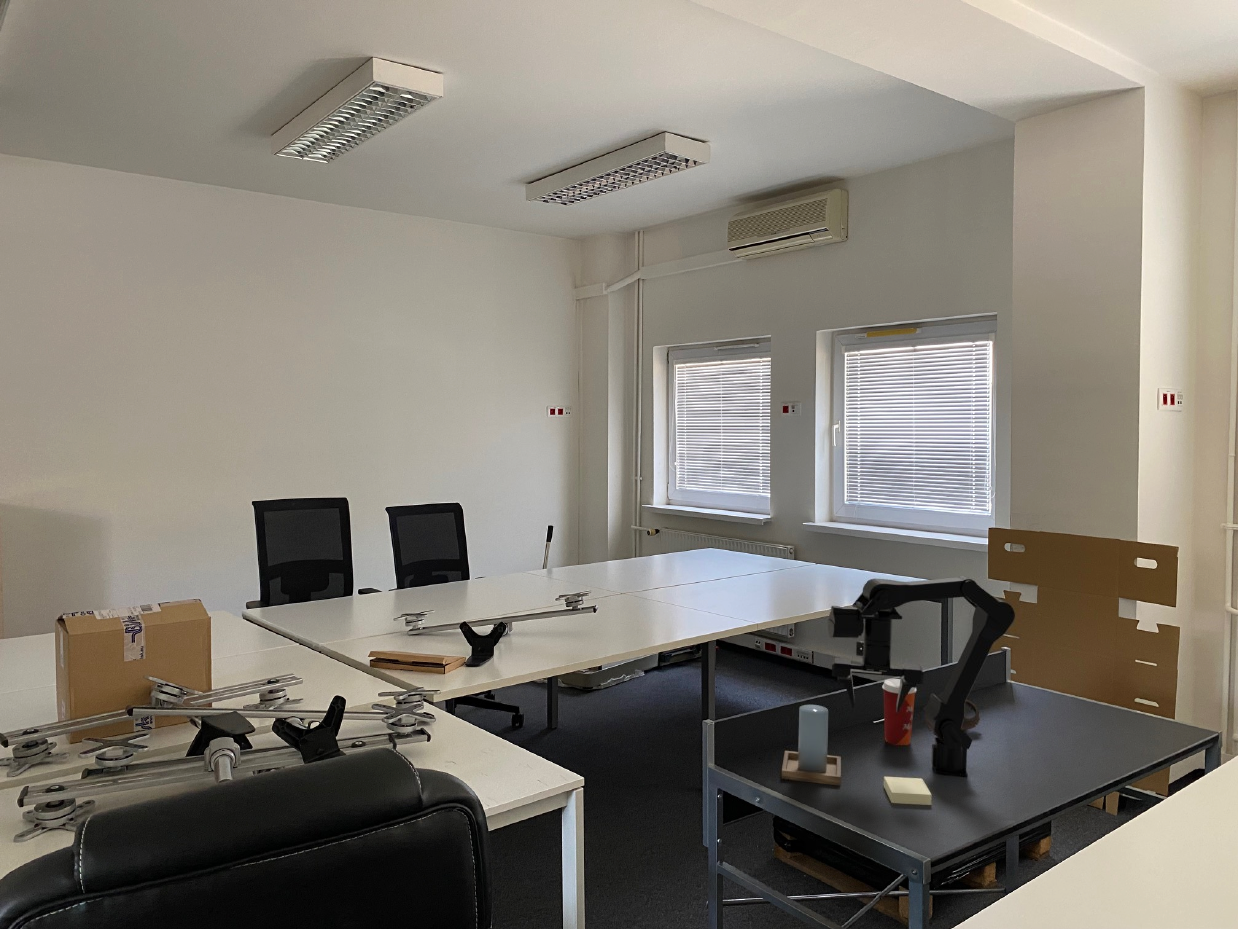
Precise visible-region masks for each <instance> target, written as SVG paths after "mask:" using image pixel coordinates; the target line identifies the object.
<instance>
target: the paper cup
mask: <svg viewBox="0 0 1238 929" xmlns="http://www.w3.org/2000/svg"><path fill="white" fill-rule="evenodd" d="M899 687H900V678H889V679H884V682H883V684H882V686H881V688H882V689H883V712H884V713H883V717H884V718H883V720H884V738H885V742H886V743H887V742H888V744H890V745H892V746H897V745H901V746H900V747H903V746H902V745H906V746H909V745H910V744H911V737H912V736H911V735H912V727H913V717H914V706H915V705H914V704H915V697H916V696H915V695H916V693H917V687H915V688H913V687H912V688H911V689H910V691H909V693H908V694H907V696H906V697H905V700H904V702H903V704H902V706H901V709H900V711H899V712H897V699H898V693H899Z"/></svg>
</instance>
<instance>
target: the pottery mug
mask: <svg viewBox="0 0 1238 929" xmlns="http://www.w3.org/2000/svg"><path fill="white" fill-rule="evenodd" d="M966 706H968V707H969V708H970V710H971V711H973V712H974V716H972V717H969V718H966V717H967V716H966V715H965V716H964V721H963V725H962V728H961V729H962V730H963V731H964V732H965V731H967V730H968V731H969V730H971V729H973V728H974V729H975V728H976V726H978V724H979V722H980V710H979V708H978V707H977V705H976V704H975V703H973V702H972V701H971V700H968V699H966V702H965V707H966Z"/></svg>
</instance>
